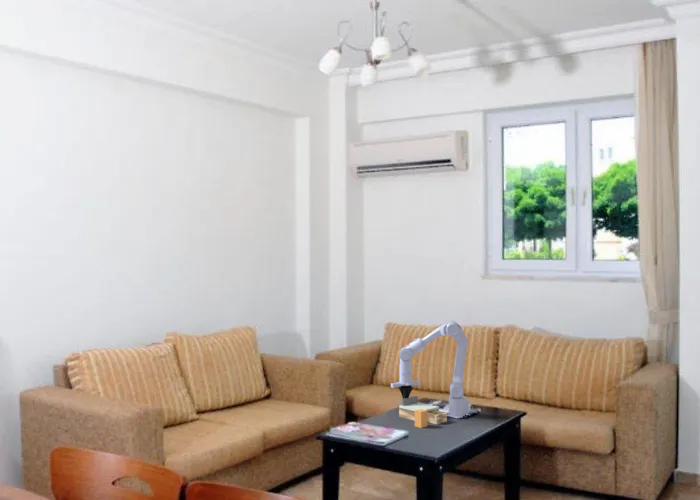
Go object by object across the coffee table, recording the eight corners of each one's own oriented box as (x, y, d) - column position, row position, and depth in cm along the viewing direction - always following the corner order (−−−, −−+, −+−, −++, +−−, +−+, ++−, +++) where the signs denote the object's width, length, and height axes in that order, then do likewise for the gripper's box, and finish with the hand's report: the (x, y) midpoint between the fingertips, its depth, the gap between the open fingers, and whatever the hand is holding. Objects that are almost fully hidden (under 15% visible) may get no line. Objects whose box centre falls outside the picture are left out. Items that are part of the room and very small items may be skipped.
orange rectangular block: (421, 424, 327) (421, 409, 327) (427, 426, 324) (427, 410, 324) (414, 426, 324) (414, 410, 324) (421, 427, 321) (421, 411, 321)
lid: (417, 403, 349) (417, 395, 349) (439, 408, 338) (439, 400, 338) (399, 407, 341) (399, 399, 341) (421, 412, 331) (421, 404, 331)
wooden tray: (416, 412, 349) (416, 404, 349) (450, 420, 333) (450, 412, 333) (399, 416, 341) (399, 408, 341) (432, 425, 325) (432, 416, 325)
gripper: (395, 375, 340) (395, 404, 340) (423, 373, 345) (423, 402, 346) (388, 373, 346) (388, 401, 346) (415, 370, 352) (416, 399, 352)
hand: (405, 401), depth 346 cm, fingers closed
